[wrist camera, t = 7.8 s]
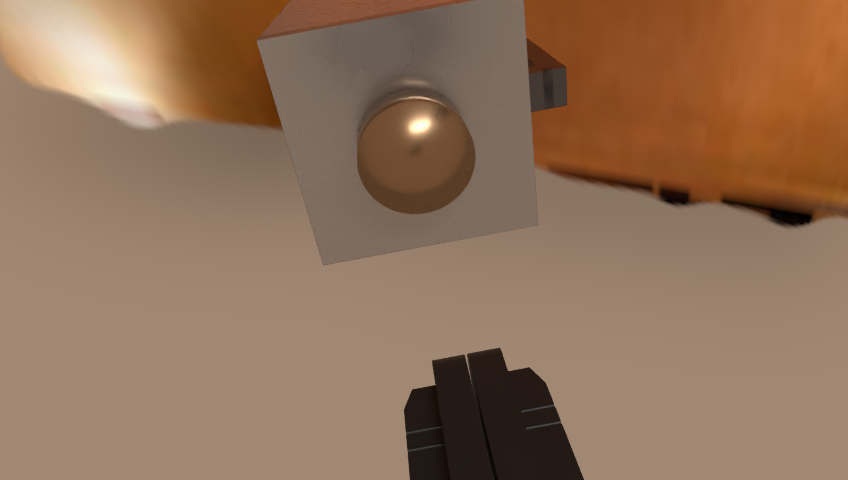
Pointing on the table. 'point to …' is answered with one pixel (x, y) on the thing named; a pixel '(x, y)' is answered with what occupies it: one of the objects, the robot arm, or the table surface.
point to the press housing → (402, 70)
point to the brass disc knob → (414, 152)
